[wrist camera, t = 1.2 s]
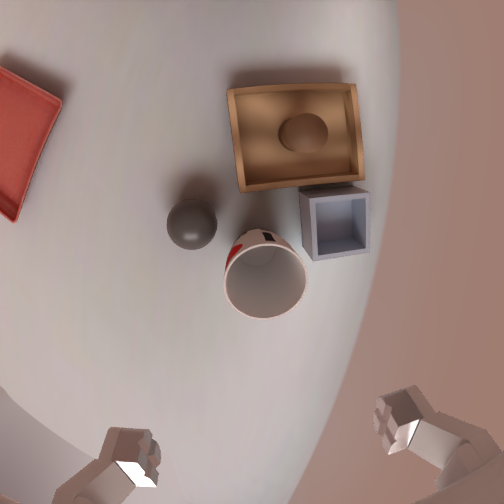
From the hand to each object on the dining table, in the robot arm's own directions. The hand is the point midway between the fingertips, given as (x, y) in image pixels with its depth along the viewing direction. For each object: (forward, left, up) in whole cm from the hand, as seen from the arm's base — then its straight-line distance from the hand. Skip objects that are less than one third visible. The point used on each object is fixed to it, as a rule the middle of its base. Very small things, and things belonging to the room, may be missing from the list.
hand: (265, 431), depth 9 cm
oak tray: (-9, +8, -29) cm, 32 cm away
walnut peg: (-9, +8, -28) cm, 31 cm away
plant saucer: (-18, -31, -30) cm, 47 cm away
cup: (+4, +2, -30) cm, 30 cm away
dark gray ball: (-1, -5, -29) cm, 30 cm away
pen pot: (+1, +11, -29) cm, 31 cm away
